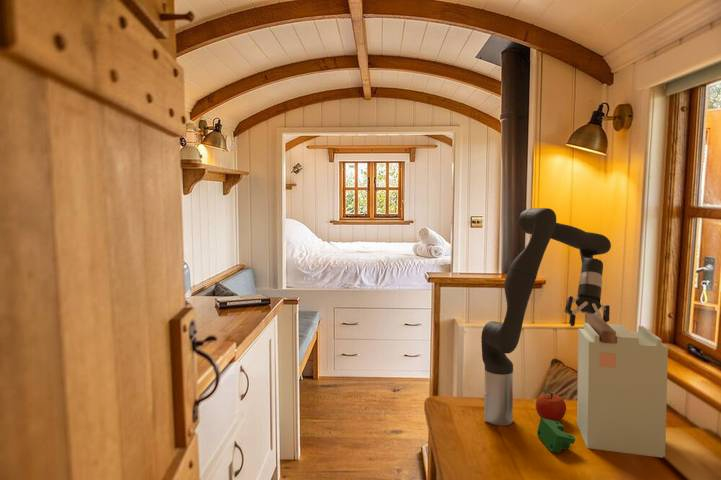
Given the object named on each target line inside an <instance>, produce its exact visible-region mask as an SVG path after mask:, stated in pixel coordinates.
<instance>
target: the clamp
mask: <svg viewBox="0 0 721 480" xmlns="http://www.w3.org/2000/svg"><path fill="white" fill-rule="evenodd" d="M564 429H565V426H564V425H563V424H562V423H561V422H560V421H553V420H548V419H544V418H541V417H540V420H539V424H538V427H537V431H536V432H537V433H536V434H537V435H536V436H537V437H538V438H539V440H540V441H541V442H542V443H543V444H544V445H545V447H546V448H547V449H548V450H549V451H550V452H551V453H554V454H555V453H556V454H560V453H561V452H562V450H569V449H570V447H571V446H570V445H571V444H572V445H573V444H575V442H576V437H575V436H574V435H573V434H571V433H567V432H564Z"/></svg>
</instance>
